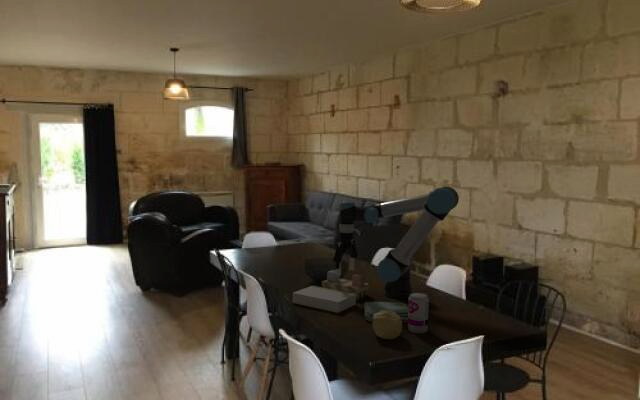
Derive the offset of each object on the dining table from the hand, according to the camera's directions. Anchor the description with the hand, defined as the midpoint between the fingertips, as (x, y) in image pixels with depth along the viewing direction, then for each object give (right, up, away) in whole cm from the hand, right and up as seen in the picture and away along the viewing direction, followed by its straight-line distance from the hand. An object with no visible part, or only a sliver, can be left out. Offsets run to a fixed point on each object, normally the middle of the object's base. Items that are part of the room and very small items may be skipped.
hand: (345, 272), depth 265 cm
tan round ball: (+14, -18, -59) cm, 63 cm away
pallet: (0, -12, +1) cm, 12 cm away
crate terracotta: (+6, -6, -4) cm, 9 cm away
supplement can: (+28, -17, -51) cm, 60 cm away
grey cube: (-6, -5, +4) cm, 9 cm away
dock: (-11, -13, -16) cm, 23 cm away
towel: (+17, -16, -32) cm, 40 cm away
